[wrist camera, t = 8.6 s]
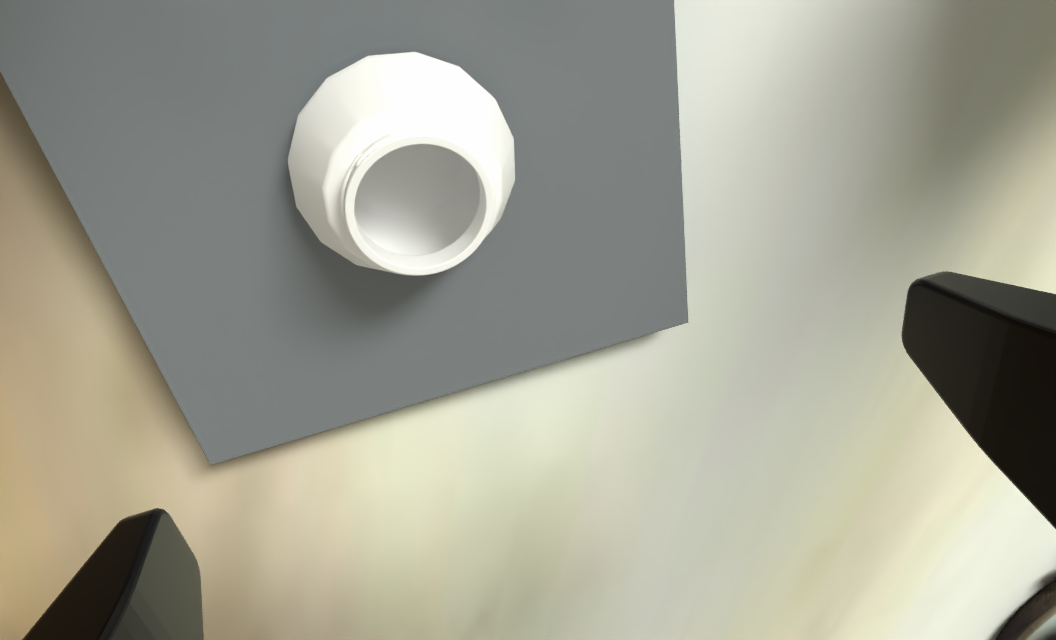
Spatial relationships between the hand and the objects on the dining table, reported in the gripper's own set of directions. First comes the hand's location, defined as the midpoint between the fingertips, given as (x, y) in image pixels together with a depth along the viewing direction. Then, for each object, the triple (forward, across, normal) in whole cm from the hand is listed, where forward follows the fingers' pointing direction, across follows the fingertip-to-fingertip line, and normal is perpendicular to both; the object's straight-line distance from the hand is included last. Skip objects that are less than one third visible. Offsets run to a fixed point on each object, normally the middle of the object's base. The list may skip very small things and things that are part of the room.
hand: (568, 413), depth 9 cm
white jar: (+11, +1, 0) cm, 11 cm away
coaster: (+12, +1, 0) cm, 12 cm away
